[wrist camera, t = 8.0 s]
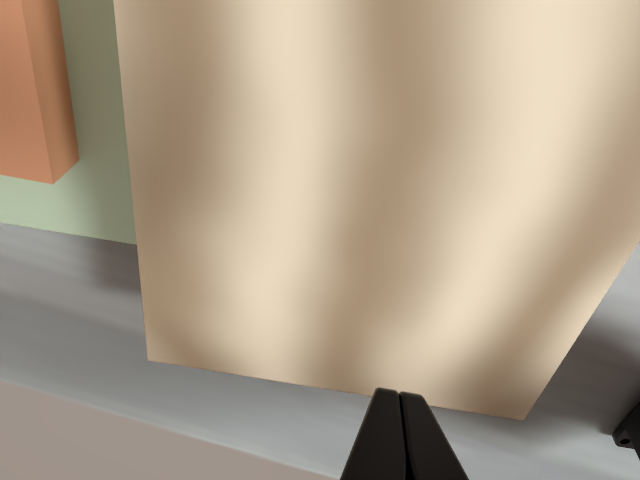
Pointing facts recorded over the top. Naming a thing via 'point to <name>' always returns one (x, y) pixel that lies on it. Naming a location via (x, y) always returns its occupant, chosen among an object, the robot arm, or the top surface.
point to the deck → (381, 187)
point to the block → (34, 93)
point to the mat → (84, 140)
